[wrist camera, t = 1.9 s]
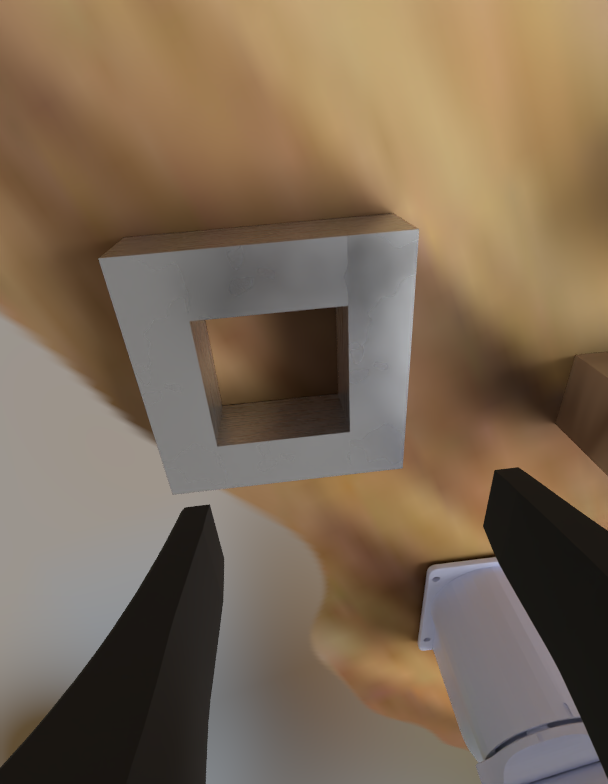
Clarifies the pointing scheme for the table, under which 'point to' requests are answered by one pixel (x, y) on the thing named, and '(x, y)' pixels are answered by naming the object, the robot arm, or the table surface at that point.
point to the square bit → (587, 407)
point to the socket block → (262, 296)
